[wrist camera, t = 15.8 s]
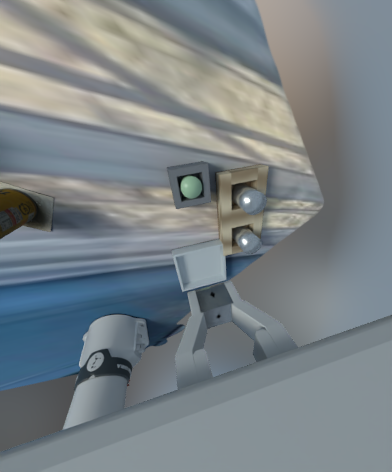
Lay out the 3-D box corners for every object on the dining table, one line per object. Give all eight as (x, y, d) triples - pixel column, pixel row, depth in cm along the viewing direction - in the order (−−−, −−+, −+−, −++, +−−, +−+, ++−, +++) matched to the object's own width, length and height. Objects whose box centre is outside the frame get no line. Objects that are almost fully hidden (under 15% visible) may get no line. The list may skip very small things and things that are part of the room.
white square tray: (223, 273, 48) (226, 279, 46) (181, 284, 46) (182, 291, 44) (221, 238, 41) (224, 243, 39) (171, 249, 39) (172, 255, 37)
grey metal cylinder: (248, 199, 36) (266, 211, 30) (230, 204, 36) (244, 217, 30) (248, 180, 34) (267, 189, 28) (228, 186, 33) (244, 196, 28)
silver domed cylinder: (245, 236, 41) (260, 251, 36) (230, 239, 41) (242, 256, 35) (246, 221, 39) (262, 235, 33) (230, 225, 39) (243, 240, 33)
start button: (199, 192, 32) (203, 196, 29) (181, 195, 31) (183, 200, 29) (197, 172, 30) (200, 175, 27) (177, 176, 29) (179, 179, 27)
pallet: (253, 241, 44) (259, 247, 41) (219, 249, 43) (223, 256, 40) (260, 164, 33) (268, 166, 31) (215, 172, 32) (220, 175, 29)
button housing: (205, 196, 34) (211, 201, 31) (174, 202, 33) (176, 209, 30) (202, 161, 30) (208, 163, 27) (166, 167, 30) (168, 170, 26)
